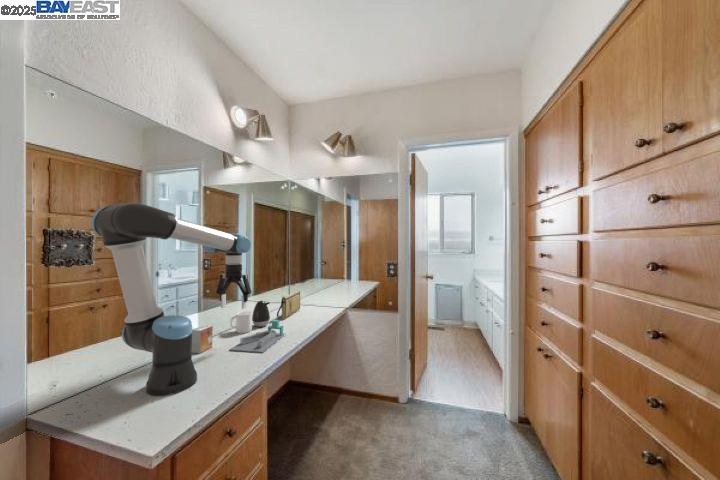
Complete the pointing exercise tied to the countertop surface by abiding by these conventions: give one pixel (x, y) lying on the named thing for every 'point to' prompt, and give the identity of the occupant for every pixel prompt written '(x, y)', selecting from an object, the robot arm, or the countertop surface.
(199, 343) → the small box
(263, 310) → the pump dispenser
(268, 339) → the tongs base
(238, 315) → the mug
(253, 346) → the mat
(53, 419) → the countertop surface
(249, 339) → the swing arm
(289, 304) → the clutch purse
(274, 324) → the lock collar
